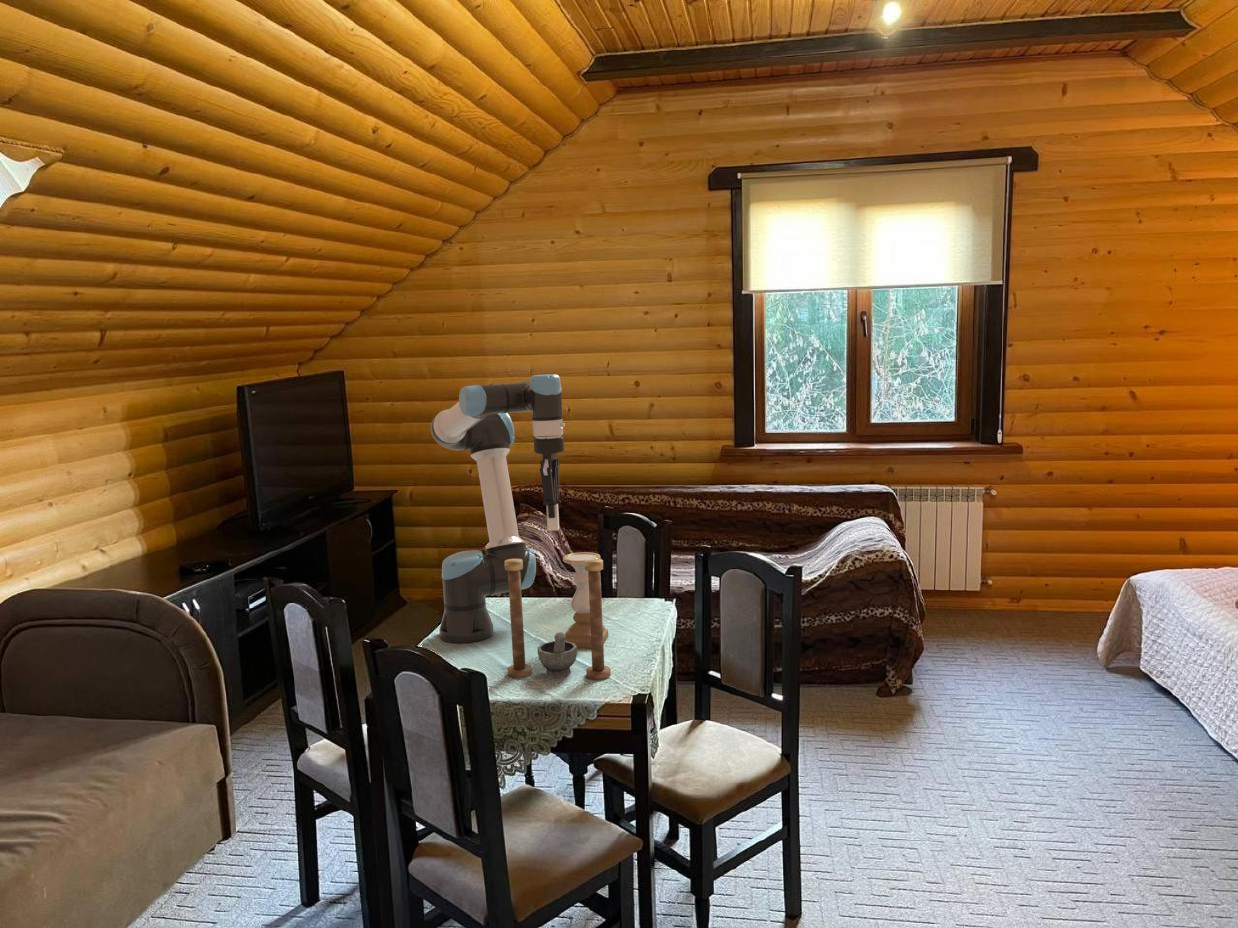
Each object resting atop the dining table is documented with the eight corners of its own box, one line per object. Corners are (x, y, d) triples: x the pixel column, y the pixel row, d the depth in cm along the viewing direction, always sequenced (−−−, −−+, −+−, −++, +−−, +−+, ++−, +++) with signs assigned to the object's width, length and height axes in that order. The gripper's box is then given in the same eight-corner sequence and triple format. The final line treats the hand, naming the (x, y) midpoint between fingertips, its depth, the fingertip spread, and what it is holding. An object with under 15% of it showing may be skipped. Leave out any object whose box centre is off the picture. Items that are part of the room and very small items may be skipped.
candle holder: (600, 648, 250) (596, 561, 246) (560, 647, 252) (556, 561, 248) (609, 635, 260) (605, 551, 257) (571, 634, 262) (567, 551, 259)
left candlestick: (504, 677, 231) (498, 563, 227) (511, 669, 237) (504, 557, 233) (528, 678, 230) (522, 563, 226) (534, 669, 236) (528, 557, 232)
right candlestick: (584, 679, 228) (579, 564, 224) (588, 670, 234) (583, 557, 230) (608, 680, 227) (603, 564, 223) (612, 671, 233) (607, 557, 229)
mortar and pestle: (536, 669, 236) (534, 623, 234) (572, 664, 238) (570, 619, 237) (544, 685, 225) (541, 637, 224) (582, 680, 228) (580, 632, 226)
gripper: (558, 439, 225) (563, 535, 228) (568, 433, 238) (572, 524, 241) (527, 440, 226) (533, 535, 229) (539, 434, 239) (544, 524, 242)
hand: (553, 529), depth 235 cm, fingers closed
